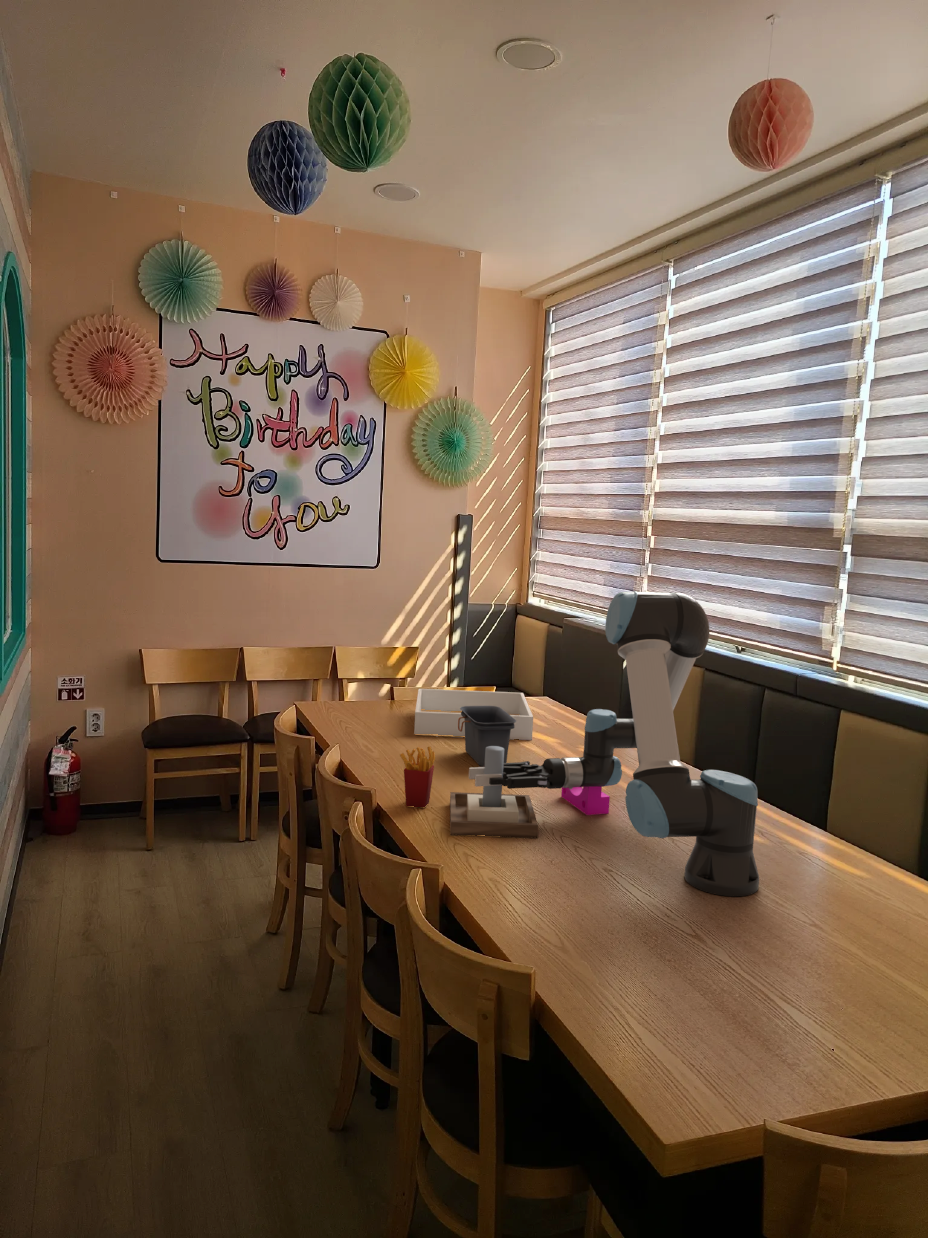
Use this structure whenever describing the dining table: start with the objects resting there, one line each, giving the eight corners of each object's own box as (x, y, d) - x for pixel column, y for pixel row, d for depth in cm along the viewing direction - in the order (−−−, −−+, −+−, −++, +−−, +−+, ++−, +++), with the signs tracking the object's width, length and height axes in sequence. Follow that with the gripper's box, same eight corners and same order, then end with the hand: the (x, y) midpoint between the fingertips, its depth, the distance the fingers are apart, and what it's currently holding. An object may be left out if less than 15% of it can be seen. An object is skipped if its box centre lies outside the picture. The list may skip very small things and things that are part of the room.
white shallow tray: (532, 740, 304) (533, 716, 303) (414, 735, 303) (415, 712, 302) (522, 713, 343) (523, 692, 342) (417, 709, 342) (418, 688, 341)
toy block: (608, 813, 233) (610, 785, 232) (586, 815, 231) (588, 786, 230) (582, 795, 247) (583, 768, 246) (561, 796, 245) (562, 769, 244)
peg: (501, 815, 222) (504, 752, 219) (482, 814, 222) (485, 751, 219) (500, 808, 226) (503, 746, 224) (481, 807, 226) (485, 745, 224)
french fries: (427, 810, 229) (429, 752, 227) (395, 806, 230) (397, 749, 229) (435, 799, 237) (437, 743, 236) (404, 796, 239) (407, 740, 237)
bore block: (517, 830, 218) (518, 811, 217) (467, 828, 217) (468, 810, 217) (513, 813, 230) (514, 796, 229) (466, 811, 229) (467, 794, 229)
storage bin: (517, 768, 270) (520, 721, 268) (467, 770, 266) (469, 722, 264) (495, 749, 290) (497, 705, 289) (449, 750, 286) (450, 706, 284)
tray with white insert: (537, 838, 213) (538, 825, 212) (450, 835, 212) (451, 822, 212) (528, 807, 235) (529, 795, 234) (449, 804, 234) (450, 792, 234)
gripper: (574, 799, 220) (482, 804, 213) (547, 776, 237) (461, 780, 230) (576, 769, 219) (484, 774, 212) (549, 748, 236) (463, 751, 229)
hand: (472, 777), depth 221 cm, fingers closed on peg, 5 cm apart
